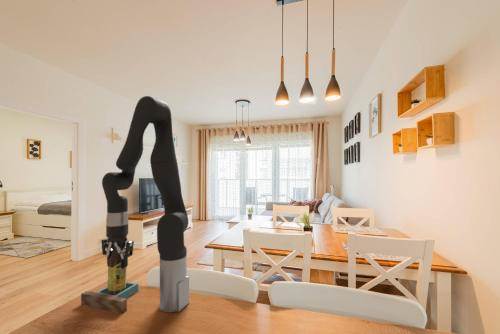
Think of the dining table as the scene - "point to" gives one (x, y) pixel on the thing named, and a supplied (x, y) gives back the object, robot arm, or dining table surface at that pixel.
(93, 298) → the walnut rail
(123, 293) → the square collar
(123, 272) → the sauce bottle
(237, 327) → the dining table surface
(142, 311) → the dining table surface
